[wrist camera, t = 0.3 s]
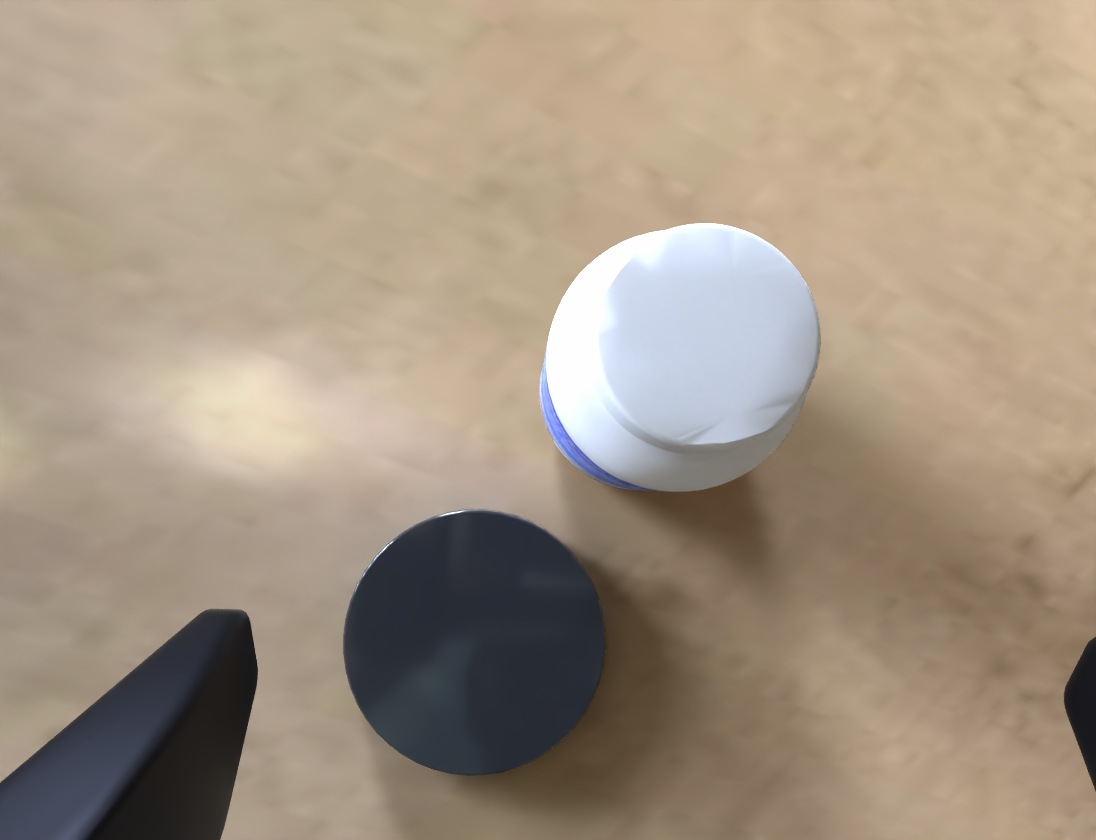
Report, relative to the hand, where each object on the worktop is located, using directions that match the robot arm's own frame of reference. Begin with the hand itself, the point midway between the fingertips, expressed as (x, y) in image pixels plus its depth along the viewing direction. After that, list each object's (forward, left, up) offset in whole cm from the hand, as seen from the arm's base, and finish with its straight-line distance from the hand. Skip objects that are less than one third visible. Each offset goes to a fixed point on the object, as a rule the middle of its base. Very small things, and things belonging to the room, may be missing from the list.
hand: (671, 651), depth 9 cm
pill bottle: (+3, -3, -15) cm, 16 cm away
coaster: (-1, +4, -15) cm, 15 cm away
